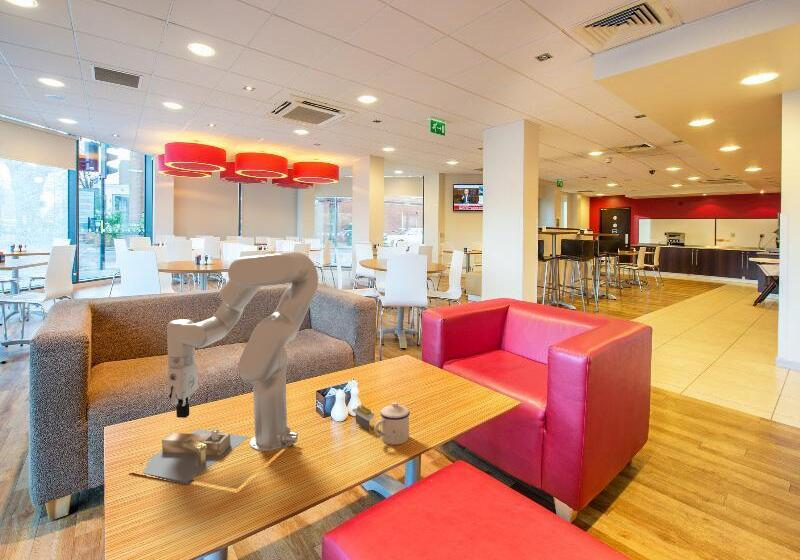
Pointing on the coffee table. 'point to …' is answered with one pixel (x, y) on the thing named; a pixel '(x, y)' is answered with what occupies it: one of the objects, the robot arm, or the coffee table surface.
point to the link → (213, 448)
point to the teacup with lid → (394, 424)
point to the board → (185, 462)
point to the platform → (363, 416)
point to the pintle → (215, 435)
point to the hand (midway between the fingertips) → (183, 416)
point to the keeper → (197, 449)
